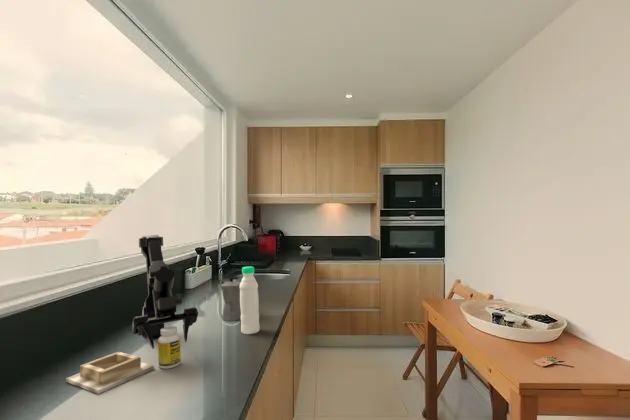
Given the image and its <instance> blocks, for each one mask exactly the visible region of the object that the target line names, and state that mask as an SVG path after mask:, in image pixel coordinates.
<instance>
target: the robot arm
mask: <svg viewBox="0 0 630 420" xmlns="http://www.w3.org/2000/svg"><path fill="white" fill-rule="evenodd" d="M138 246H139V247H138V248H139V249H140V253H141V254H142V255H143V257H144V258H145V263H146V264H145V265H146V280H147V293H148V295H147V297H146V299H145V301H144V306H143V307H142V313H141V315H139V316H134V317H133V319H132V335H133V334H134V335H138V336H142V338H144V339H145V341H147V343H148V345H149V346H150V347H151V349H152V350H153V349H155V343H154V340H155V339H159V338H160V337H161V336H162V335H161V329H162V328H165V324H168V323H172V322H178V321H182V322H183V324H182V329H183V339H184V342H185V343H186V342H188V335H189V334H188V333H189V328H190V326H191V327H192V326H193V324H195V323H196V322H197V320H198V316H199V311H198V308H196V306H193V307H186V308H183V313H182V312H181V313H177V314H176V312H177V306H179V305H182V303H183V297H182V294H181V293H176V294H174V295H173V293H172V290H173V287H174V280H175V279H176V274H175V272H174V270H172V269H170V267H169V265H168V264H167V263H165V262H164V256H163V252H162V247H163V246H164V237H163V236H159V234H152V235H150V234H149V235H142V236H141V238H138Z"/></svg>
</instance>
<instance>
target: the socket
mask: <svg viewBox="0 0 630 420" xmlns="http://www.w3.org/2000/svg"><path fill="white" fill-rule="evenodd" d="M141 359H142V358H141V357H140V356H137V355H133V354H129V353H125V352H121V351H116V352H113V353H111V354H108V355H105V356H102V357H100V358H97V359H94V360H91V361H89V362H86V363H84V364H80V366H79V371H80V372H78V373H76V374H74V375H71V376H69V377H66V378H65V382H66V383H69V384H70V385H74V386H76V387H79V388H81V389H84V390H85V391H89V392H92V393H95V394H97V395H99V394H101V393H104V392H106V391H108V390H111V389H113V388H114V387H118V386H119V385H121V384H124V383H125V382H129V381H131V380H132V379H136V378H137V377H139V376H142V375H143V374H147V373H149V372H150V371H153V370H154V369H155V365H153V364H150V363H145V362H142V360H141Z"/></svg>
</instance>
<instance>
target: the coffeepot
mask: <svg viewBox="0 0 630 420" xmlns="http://www.w3.org/2000/svg"><path fill="white" fill-rule="evenodd" d="M241 282H242V281H240V282H239V281H234V277H232V276H230V277H229V281H225V280H222V282H221V284H220V288H221V289H220V290H221V292H222V299H223V308H222V316H221V317H222V320H223V321H226V322H233V321H238V320H241V309H240V288H239V286H240V283H241Z"/></svg>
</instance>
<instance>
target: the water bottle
mask: <svg viewBox="0 0 630 420" xmlns="http://www.w3.org/2000/svg"><path fill="white" fill-rule="evenodd" d="M241 273H242V275H243V276H242V278H241V281H240V282H241V283H240V286H239V288H240V309H241V319H240V332H241V333H242V334H244V335H253V334H257V333H258V332H259V331H260V329H261V328H260V313H259V312H260V311H259V306H260V305H259V303H260V302H259V290H258V289H259V284H258V282H257V280H256V278H255V276H254V274H255V267H254V266H251V265H250V266H243V267H241Z"/></svg>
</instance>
